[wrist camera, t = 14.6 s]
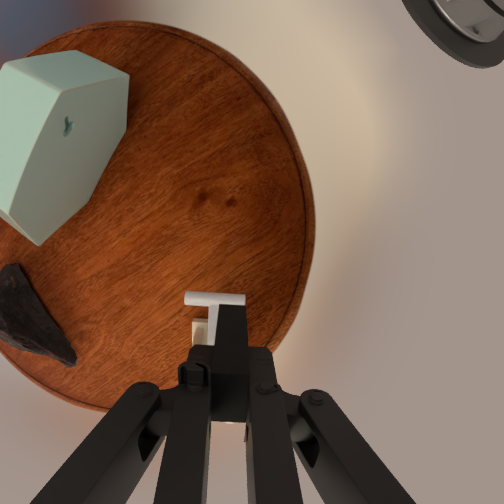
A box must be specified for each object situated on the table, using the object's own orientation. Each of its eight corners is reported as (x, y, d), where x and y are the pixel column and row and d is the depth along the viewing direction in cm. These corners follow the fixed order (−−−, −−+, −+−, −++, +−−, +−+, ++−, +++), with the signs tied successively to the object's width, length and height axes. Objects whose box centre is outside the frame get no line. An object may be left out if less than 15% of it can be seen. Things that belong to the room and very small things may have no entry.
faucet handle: (187, 291, 33) (184, 289, 31) (244, 295, 33) (246, 293, 31) (182, 403, 31) (179, 409, 28) (239, 407, 31) (240, 413, 29)
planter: (84, 128, 38) (74, 9, 19) (126, 153, 39) (134, 31, 20) (9, 227, 31) (-68, 140, 13) (51, 259, 33) (-19, 184, 14)
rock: (16, 255, 37) (-21, 274, 28) (84, 353, 41) (60, 389, 33) (-6, 278, 38) (-41, 299, 29) (57, 369, 42) (33, 402, 33)
